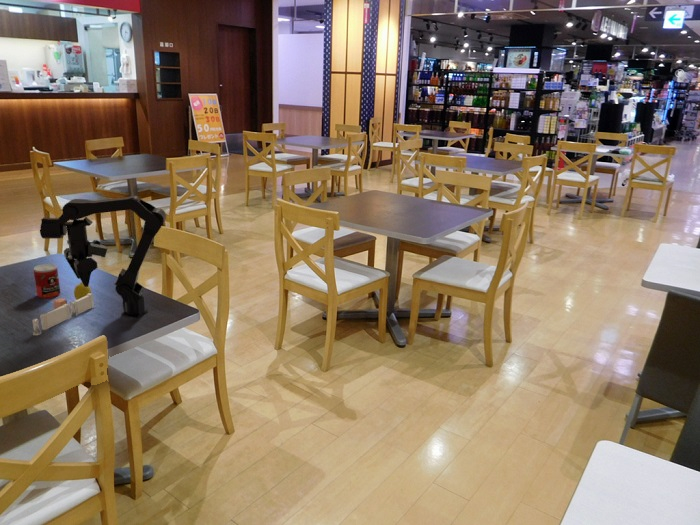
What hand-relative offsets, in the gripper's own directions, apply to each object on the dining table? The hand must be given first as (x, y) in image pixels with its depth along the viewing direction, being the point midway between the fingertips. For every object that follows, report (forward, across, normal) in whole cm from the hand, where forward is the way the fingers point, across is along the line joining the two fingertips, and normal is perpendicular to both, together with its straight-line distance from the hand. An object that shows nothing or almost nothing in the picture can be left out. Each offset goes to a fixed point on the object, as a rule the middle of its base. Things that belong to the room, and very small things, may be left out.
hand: (82, 282), depth 184 cm
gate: (+11, -3, +10) cm, 15 cm away
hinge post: (+12, +1, +4) cm, 13 cm away
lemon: (+12, +11, -2) cm, 17 cm away
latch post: (+12, -7, +16) cm, 21 cm away
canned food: (+12, +26, +7) cm, 29 cm away
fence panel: (+12, +4, 0) cm, 13 cm away
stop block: (+12, +11, +6) cm, 17 cm away
